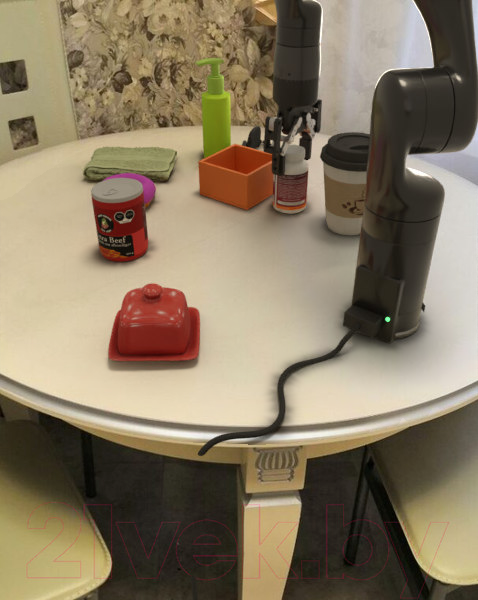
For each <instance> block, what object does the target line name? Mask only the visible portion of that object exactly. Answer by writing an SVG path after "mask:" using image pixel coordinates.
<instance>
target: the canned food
mask: <svg viewBox="0 0 478 600" xmlns="http://www.w3.org/2000/svg"><path fill="white" fill-rule="evenodd" d="M90 192H91V194H90V195H91V204H92V209H93V216H94V222H95V229H96V237H97V241H98V248H99V251H100V253H101V255H102V257H103V258H104V259H106V260H108V261H111V262H119V263H120V262H121V263H122V262H129V261H133V260H137V259H139V258H140V257H143V255H145V254H146V253H147V251H148V247H149V234H148V233H149V232H148V225H147V224H148V223H147V222H148V221H147V213H146V208H145V201H144V192H143V186H142V184H141V183H140V182H139V181H137V180H135V179H130V178H113V179H108V180H105V181H103V180H102V181H99V182H97V183H95V184H94V185H93V186H92V187H91V190H90Z"/></svg>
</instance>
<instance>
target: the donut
mask: <svg viewBox="0 0 478 600" xmlns="http://www.w3.org/2000/svg"><path fill="white" fill-rule="evenodd" d="M113 178H130V179H135V180H137V181H139V182H140V183H141V184H142V186H143V192H144V201H145V209H146V208H147V207H148V206H150V205H151V202H152V200H153V198H155V196H156V190H157V187H156V184H155V183H154V181H151V180H150V179H148V178H146V177H144V176H142V175H139V174H134V173H123V174H117V175H113V176H110V177H107V178H106V179H104V180H102V181H105V180H108V179H113Z"/></svg>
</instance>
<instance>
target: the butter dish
mask: <svg viewBox="0 0 478 600" xmlns="http://www.w3.org/2000/svg"><path fill="white" fill-rule="evenodd" d="M188 305H189V304H188V301H187V298H186V295H185V293H184V292H183V291H181V290H180V289H176V288H171V287H163V286H161V285H160V284H159V283H154V282H153V283H152V282H151V283H147V284H145V285H144V286H143V287H138V288H134V289H130V290H129V291H128V292H126V293H125V295H124V297H123V300H122V303H121V306H120V309H119V310H118V311H117V313H116V315H115V317H114V321H113V325H112V328H111V333H110V338H109V344H108V348H107V349H108V350H107V357H108V358H109V360H111V361H114V362H175V361H176V362H183V361H192V360H195V359H197V358H198V357H199V354H200V343H201V342H200V341H201V315H200V310H199V309H198V308H197V307H192V306H188Z"/></svg>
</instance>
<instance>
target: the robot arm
mask: <svg viewBox="0 0 478 600" xmlns="http://www.w3.org/2000/svg"><path fill="white" fill-rule="evenodd" d="M273 1H274V6H275V12H276V30H275V47H274V53H273V74H272V76H273V77H272V101H273V102H274V103H275V104H276V105H277V107H278V109H277V113H276V116H274V117H273V116H270V115H267V116H266V117H265V121H264V136H263V140H264V144H263V151H264V152H265V153H269V154H272V173H273V174H275V175H278V176H282V175H284V174H285V156H286V155H285V153H286V150H287V148H288V145H292V144H293V141H294V139H295V137H296V136H297V135H298V134H299V136H300V137H299V139H298V145H299V146H302V147H304V148H305V158H304V160H306V161H309V160H311V159H312V150H313V149H312V146H313V140H314V139H315V137H316V134H319V133H320V132H321V127H322V107H323V100H322V99H320V98H319V97H320V96H319V95H320V81H321V80H320V79H321V68H322V47H321V46H322V31H323V20H324V19H323V16H324V12H323V11H324V10H323V7H322V4H321V3H320V2H319V1H317V0H273ZM412 3H414V5H415V7H416V9H417V10H418V12H419V14H420V16H421V18H422V20H423V22H424V23H423V24H424V25H425V28H426V31H427V35H428V38H429V45H430V49H431V56H432V66H431V67H409V68H408V67H403V68H391V69H388V70H386V71H385V72H383V73H382V74H381V75H380V76H379V78H378V80H377V82H376V84H375V88H374V91H373V95H372V101H371V108H370V109H371V110H370V124H369V126H370V127H369V134H370V138H369V151H368V161H367V172H366V195H365V203H364V210H363V218H362V225H361V233H360V234H359V240H358V241H359V242H358V250H357V256H356V263H355V264H356V265H355V273H354V281H353V288H352V297H351V304H350V306H349V307H348V308H347V309H346V310H345V312H344V316H343V322H342V327H344V328H347V329H350V330H348V332H347V333H346V334H345V335H344V336H343V338H341V340H340V341H339V342H338V344H337V345H336V346H335V348H334V349H332V351H330V352H328V353H326V354H324V355H321V356H318V357H315V358H310V359H305V360H301V361H298V362H295V363H293V364H291V365H290V366H287V368H285V370H283V371H282V372H281V374H280V375H279V378H278V381H277V399H278V405H279V406H278V407H279V408H278V414H277V417H276V419H275V420H274V421H273V422H272V424H270V425H269V426H267V427H264V428H262V429H258V430H249V431H246V430H245V431H234V432H227V433H223V434H222V433H221V434H219V435H217V436H215V437H213V438H211V439H210V440H208V441H207V442H205V444H204V445H203V446H201V448H200V449H199V450H198V452H197V455H198V456H199V457H203V456H205V455H206V454H207V453H208V451H209V450H211V449H212V448H213V447H214V446H216V445H218V444H219V443H220V444H221V443H223V442H225V441H226V442H227V441H230V440H241V439H255V438H261V437H264V436H268V435H269V434H271V433H273V432H275V431H276V430H277V429H278V428H279V427H280V426H281V425H282V423H283V422H284V419H285V415H286V408H287V407H286V398H285V391H284V390H285V389H284V387H285V386H284V385H285V382H286V379H287V377H288V376H289V375H290V374H291V373H293V372H294V371H296V370H298V369H300V368H304V367H307V366H312V365H315V364H318V363H323V362H326V361H329V360H330V359H332V358H334V357H335V356H337V355H338V354H340V352H342V350H343V348H344V347H345V345H346V344H347V343H348V342H349V341H350V339H351V338H352V337H353V336H354V335H355V334H356V333H360V334H362V335H364V336H367V337H368V338H372V339H373V338H377V339H378V340H381V341H384V342H386V343H389V344H390V343H392V342H393V341H394V340H397V339H402V338H406V337H409V336H411V335H412V334H414V333H415V332H416V331H417V330H418V328H419V326H420V322H421V313H422V312H423V313H425V310H426V305H425V303H424V299H425V293H426V288H427V284H428V279H429V275H430V269H431V265H432V259H433V255H434V251H435V245H436V240H437V235H438V231H439V227H440V221H441V217H442V212H443V207H444V203H445V198H446V190H445V188H444V185H443V184H442V183H441V182H440V180H438V179H437V178H435V177H434V176H432V175H430V174H428V173H426V172H423V171H420V170H417V169H413V168H411V167H408V166H406V164H407V156H413V155H415V156H417V155H431V154H432V155H433V154H434V155H435V154H450V153H458V152H462V151H464V150H465V149H467V148H468V147H469V145H470V144H471V143H472V142H473V139H474V137H475V135H476V131H477V128H478V56H477V47H476V46H477V45H476V34H475V24H474V23H475V22H474V11H473V0H412ZM313 120H314V122H313ZM271 141H272V142H271ZM281 142H282V144H281ZM270 144H271V146H270ZM280 147H281V148H280ZM189 576H190V588H191V597H192V600H199V592H198V582H197V577H196V576H194V575H193V573H189Z"/></svg>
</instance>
